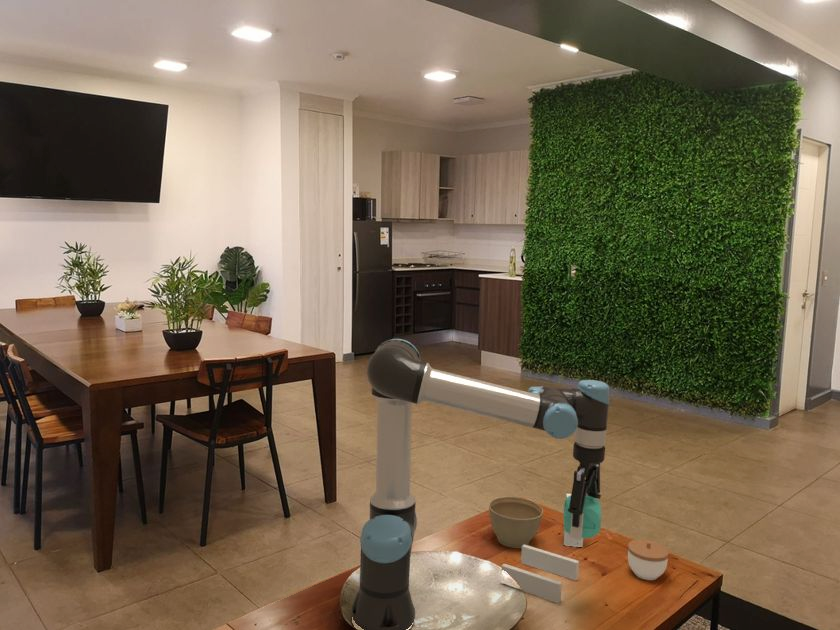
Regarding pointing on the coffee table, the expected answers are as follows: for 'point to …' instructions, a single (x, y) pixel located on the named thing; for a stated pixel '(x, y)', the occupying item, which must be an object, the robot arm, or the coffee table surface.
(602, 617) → the coffee table surface
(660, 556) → the lidded jar
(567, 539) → the syrup box
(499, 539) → the planter bowl
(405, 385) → the robot arm
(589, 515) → the decorative dice
